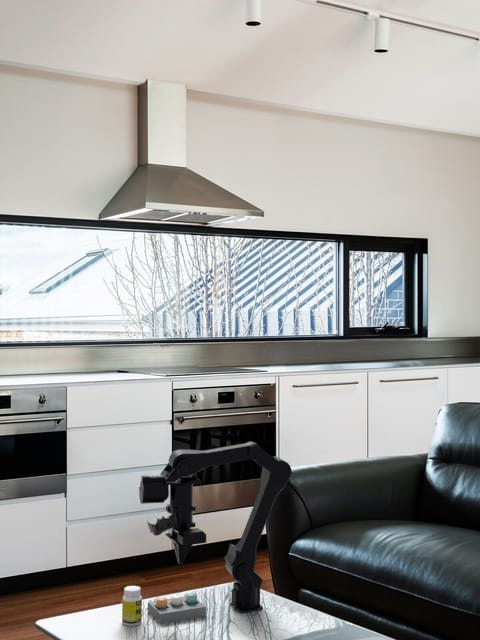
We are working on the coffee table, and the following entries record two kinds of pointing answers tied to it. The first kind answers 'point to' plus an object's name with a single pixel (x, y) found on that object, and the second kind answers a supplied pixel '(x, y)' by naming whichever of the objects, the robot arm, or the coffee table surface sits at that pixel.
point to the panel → (176, 611)
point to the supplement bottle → (132, 606)
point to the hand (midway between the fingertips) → (180, 563)
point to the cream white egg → (176, 600)
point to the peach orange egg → (161, 602)
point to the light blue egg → (191, 598)
